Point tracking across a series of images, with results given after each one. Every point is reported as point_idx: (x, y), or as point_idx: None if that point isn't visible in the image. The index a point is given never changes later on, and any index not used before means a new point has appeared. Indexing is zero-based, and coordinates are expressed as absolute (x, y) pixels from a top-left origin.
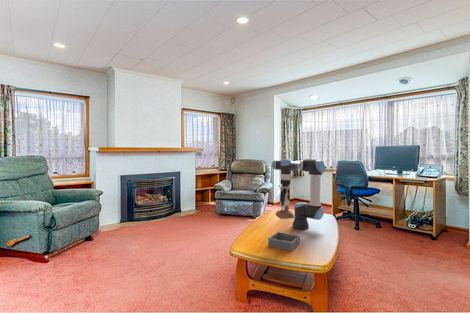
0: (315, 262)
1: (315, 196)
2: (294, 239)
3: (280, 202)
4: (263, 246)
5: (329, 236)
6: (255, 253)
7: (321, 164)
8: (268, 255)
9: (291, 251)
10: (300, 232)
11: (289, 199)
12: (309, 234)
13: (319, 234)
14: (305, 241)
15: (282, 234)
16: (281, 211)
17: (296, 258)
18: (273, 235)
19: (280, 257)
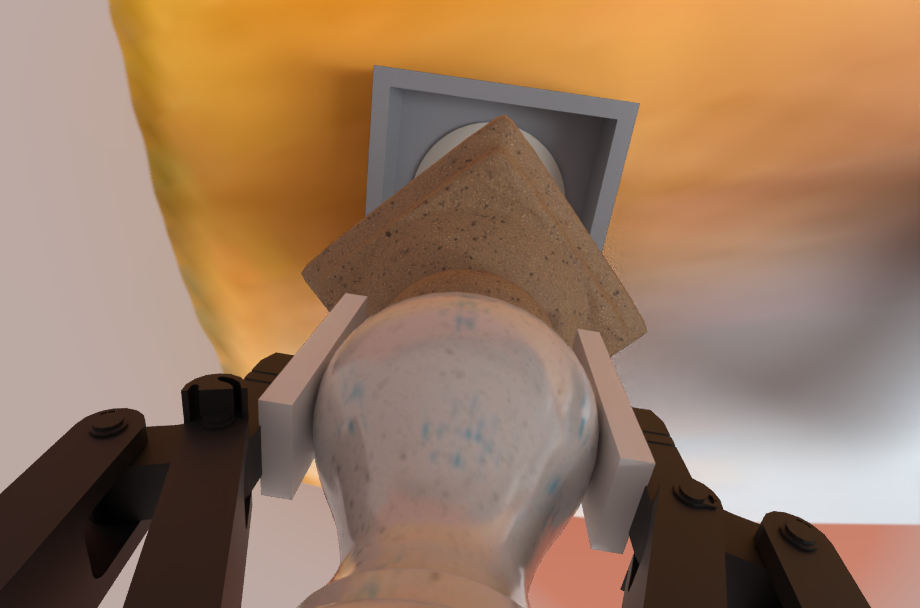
0: None
1: None
2: None
3: (366, 331)
4: (358, 30)
5: (829, 492)
6: (176, 19)
7: None
8: (210, 140)
9: None
10: (895, 274)
11: (622, 588)
12: (847, 355)
13: (867, 427)
14: (641, 346)
15: (602, 165)
16: (387, 282)
17: (284, 333)
18: (482, 93)
19: (234, 234)
